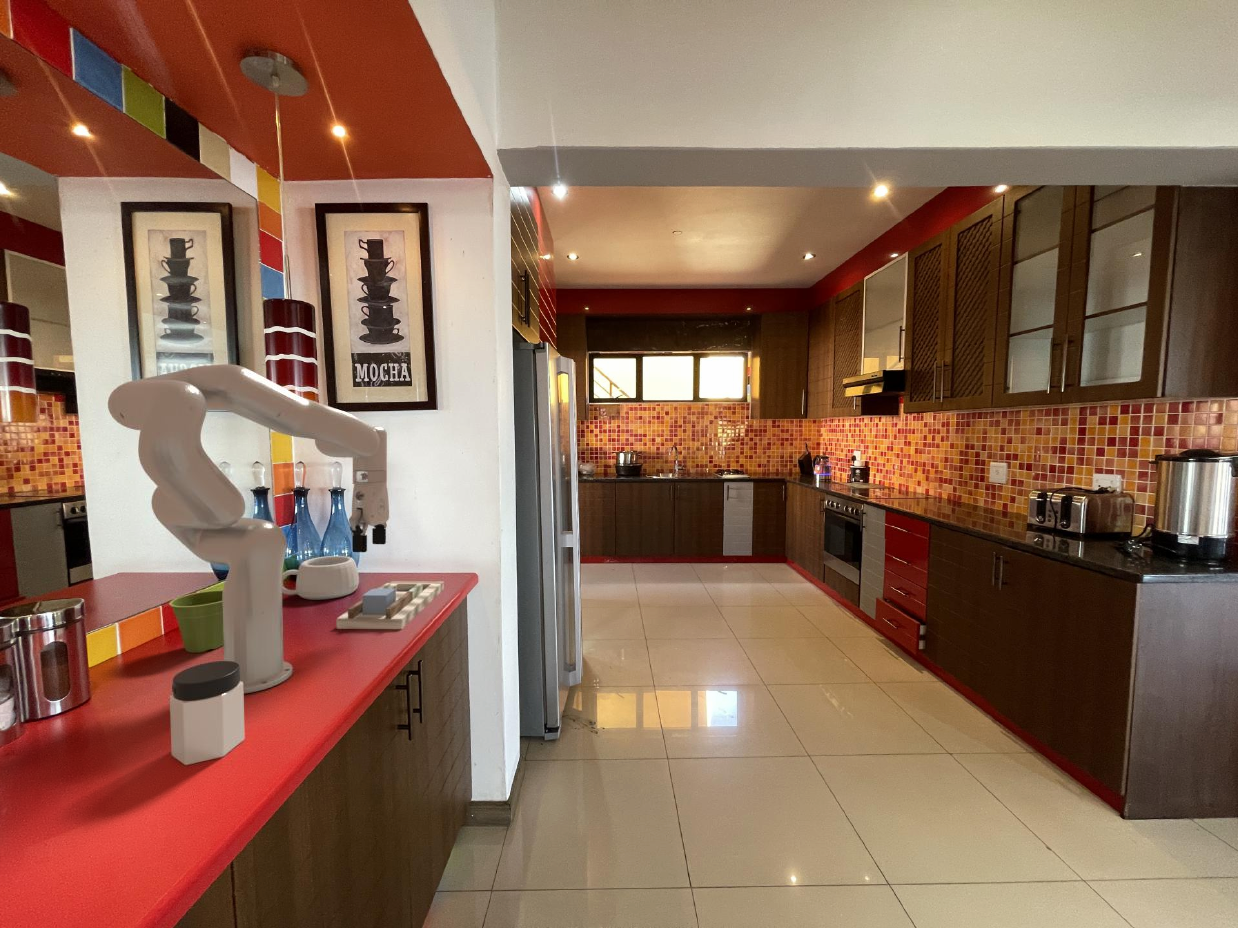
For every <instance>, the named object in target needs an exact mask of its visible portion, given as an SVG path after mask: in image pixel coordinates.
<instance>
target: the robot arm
mask: <svg viewBox="0 0 1238 928" xmlns="http://www.w3.org/2000/svg"><path fill="white" fill-rule="evenodd" d="M107 408H108V412H109V414H110V416H111V417H112V419H114V420H115V421H116V422H117V423H118V424H120V425H121V426H123V427H126V428H127V429H131V430H134V431H139V436H138V446H137V447H138V448H137V449H138V450H137V452H138V459H139V462H140V466H141V467H142V469H143V471H144V473H145V474H146V475H147V476H148V477H149V479H150V480H151V481H152V482H153V483H154V484H155V485H156V486H157V487H156V488H155V489H154V491H153V493H152V495H151V500H150V501H151V510H152V511H153V514H154V516H155V518H156V519H157V521H159V523H160V524H161V525H162V526H163V527H164V528H165V529H167V530H168V532H170V534H171V535H173V536H174V537H175V538H176V539H177V540H178V541H179V542H180V543H182V545H184V546H185V548H187V549H188V550H189V551H190V552H191V553H192V554H193V555H195V556H196V557H198V559H201V560H202V561H204V562H206V563H208V564H209V563H210V564H213V565H219V566H227V567H229V569H228V573H227V576H226V578H225V581H224V584H223V587H222V590H223V593H222V606H223V638H224V645H223V659H220V660H219V661H232V662H236V663H238V664H239V666H240V681H241V682H243V693H244V694H249V693H255V692H259V691H260V692H261V691H263V690H268V689H269V688H273V687H274V686H278V685H279V684H281V683H283V682H285V681H287V680H288V679H289V678H290V677H291V676H292V674H293V669H294V668H293V665H292V664H291V663H289V662H287V661H284V635H283V634H284V633H283V632H284V628H283V625H284V624H283V623H284V622H283V593H282V574H283V569H284V562H285V557H286V552H287V546H288V544H287V537H286V534H285V532H284V531H283V529H282V528H281V527H280V526H279V525H277V524H276V523H274V522H272V521H269V520H265V519H263V518H262V519H261V518H251V517H244V515H245V513H246V501H245V499H244V496H243V494H242V493H241V491H240V490H239V489H238V488H237V487H236V485H234V483H233V482H232V481H231V480H230V478H228V476H226V475H225V473H223V471H222V470H221V469H220V468H219V467H218V465H216V464H215V462H213V460H212V459H211V458H210V457H209V455H208V454H207V452H206V451H205V449H204V447H203V445H202V439H201V438H202V437H201V436H202V429H203V424H204V423H205V420H206V416H207V412H208V411H228V412H231V413H233V414H235V415H237V416H240V417H242V418H244V419H246V420H250V421H251V422H253V423H256V424H257V425H261V426H262V427H265V428H267V429H269V430H272V431H273V432H276V433H279V434H282V435H286V436H288V437H289V436H290V437H295V438H300V439H301V438H302V439H311V440H314V444H315V446H316V448H317V450H318V451H319V452H320V453H321V454H323V455H325V456H327V457H332V458H344V459H345V458H349V459H350V458H352V484H353V491H352V497H351V498H352V499H351V515H350V516H349V518H348V522H349V529H350V531H351V533H350V534H351V536H352V542H351V543H352V548H351V549H352V552H353V553H366V552H368V535H367V534H366V533H367V530H368V527H369V526H370V527H373V528H372V529H371V530H372V531H371V532H372V533H371V534H372V536H371V537H372V538H371V539H372V540H371V541H372V543H371V544H373V545H385V544H386V543H387V540H386V539H387V526H388V525H387V522H388V521H389V519H390V508H389V507H390V504H389V503H390V502H389V493H388V487H387V483H388V480H387V479H388V477H387V476H388V472H387V471H388V469H387V468H388V460H387V459H388V457H387V456H388V453H387V452H388V434H387V433H388V432H387V430H386V429H385V428H383V427H381V426H371V425H370V424H369V423H367V422H366V421H364V420H362V419H360V418H359V417H356V416H354V415H353V414H350V413H348V412H346V411H344V410H340V409H337V408H334V407H332V406H329V405H325V404H323V403H320V402H317V401H315V400H311V399H308V398H306V397H302V396H301V395H299V394H296V393H295V392H292V391H290V390H289V389H287V388H285V387H283V386H281V385H280V384H278V383H275V382H273V381H272V380H270V379H269V378H266V377H264V376H262V375H260V374H259V373H257V372H255V371H253V370H251V369H249V368H247V367H244V366H242V365H237V364H230V363H229V364H226V363H225V364H210V365H201V366H200V365H199V366H194V367H191V368H185V369H181V370H177V371H172V372H168V373H164V374H159V375H158V374H157V375H154V376H149V377H144V378H140V379H136V380H131V381H127V382H124V383H123V384H121V385H118V386H117V387H116V388H115V389H113V391H112V392H111V393H110V395H109V397H108V401H107Z"/></svg>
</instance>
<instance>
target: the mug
mask: <svg viewBox="0 0 1238 928" xmlns="http://www.w3.org/2000/svg"><path fill="white" fill-rule="evenodd" d="M291 575H294V576H295V575H296V581H295V589H288V588H286V587H285V586H284V584H283V583H284V580H285V578H287V577H288V576H291ZM359 577H360V576H359V571H358V567H357V563H356V561H355V560H354V558H353V557H350V556H347V555H346V556H345V555H328V556H319V557H313V558H309V559H307V560H304V561H302V562H301V563H300V565H299V566H298V569H289V570H286V571H284V572H282V594H285V595H289V596H294V595H298V596H299V597H300V598H303V599H306V600H314V601H315V600H317V601H319V600H330V599H331V600H332V599H337V598H342V597H344V596H348V595H350V594H352V593H354V592H355V591H356V590H357V589H358V587H359V584H360V578H359Z"/></svg>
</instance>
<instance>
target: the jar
mask: <svg viewBox="0 0 1238 928" xmlns="http://www.w3.org/2000/svg"><path fill="white" fill-rule="evenodd" d="M171 691H172V694H170V695H169V711H170V713H169V715H170V716H169V717H170V741H171V742H170V744H171V745H170V747H171V750H170V751H171V756H172V757H173V758H175V759H176V760H178V761H179V762H181V763H182V764H183V765H185V766H189V765H193V764H196V763H201V762H206V761H210V760H215V759H218V758H219V759H220V758H223V757H224V756H226V755H227V754H228V753H229V752H231V751H232V750H234V748H236V747H237V746H238V745H239V744H241V743H242V742H243V741H244V740H245V736H246V734H245V706H244V705H245V701H244V700H245V697H244V694H245V693H243V682H241V681H240V666H239V664H238V663H236V662H232V661H220V660H218V661H216V660H215V661H210V662H205V663H204V662H203V663H200V664H197V665H194V666H191V667H188V668H185V669H184V670H182V671H180V672H178V673H177V674H175V675H174V676H173V678H172V685H171Z"/></svg>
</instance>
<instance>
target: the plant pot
mask: <svg viewBox="0 0 1238 928" xmlns="http://www.w3.org/2000/svg"><path fill="white" fill-rule="evenodd" d="M222 593H223V589H215V590H204V591H199V592H194V593H189V594H186V595H182V596H178V597H177V598H176V597H175V598H174V599H172V600H170V602H169V603H168V606H170V607H171V608H172V610H173V614H174V616H175V617H176V620H177V624H178V628H179V631H180V635H181V640H182V643H183V646H184V650H185V651H186V652H187V653H191V654H192V653H193V654H194V653H203V652H207V651H208V650H215V649H219V648H221V647H222V646H224V638H223V606H222Z"/></svg>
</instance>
